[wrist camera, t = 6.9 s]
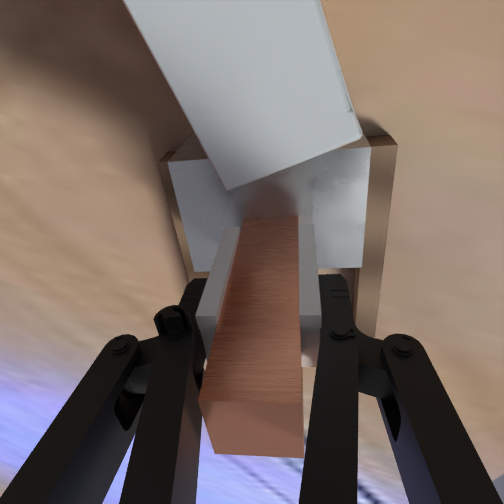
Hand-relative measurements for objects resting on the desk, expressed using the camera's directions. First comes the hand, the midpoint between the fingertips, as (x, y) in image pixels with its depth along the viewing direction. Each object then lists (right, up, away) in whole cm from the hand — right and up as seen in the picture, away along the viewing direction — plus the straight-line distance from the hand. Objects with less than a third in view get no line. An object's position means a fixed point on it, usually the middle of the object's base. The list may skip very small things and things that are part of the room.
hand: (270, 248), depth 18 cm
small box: (0, +12, +2) cm, 12 cm away
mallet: (+1, +5, +6) cm, 8 cm away
